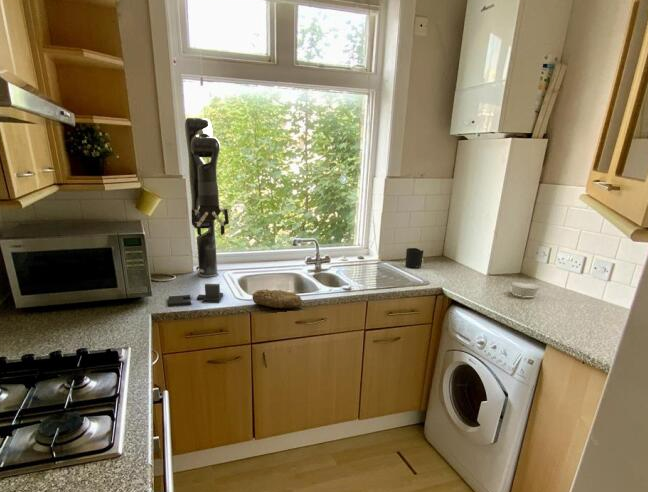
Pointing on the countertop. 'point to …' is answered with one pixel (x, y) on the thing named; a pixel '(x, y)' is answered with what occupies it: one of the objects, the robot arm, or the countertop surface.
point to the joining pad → (210, 299)
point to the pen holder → (414, 258)
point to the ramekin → (524, 289)
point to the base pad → (179, 300)
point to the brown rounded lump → (277, 299)
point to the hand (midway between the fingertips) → (211, 235)
